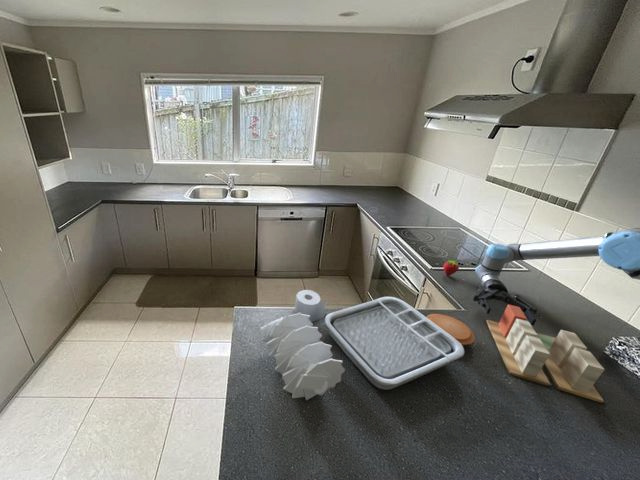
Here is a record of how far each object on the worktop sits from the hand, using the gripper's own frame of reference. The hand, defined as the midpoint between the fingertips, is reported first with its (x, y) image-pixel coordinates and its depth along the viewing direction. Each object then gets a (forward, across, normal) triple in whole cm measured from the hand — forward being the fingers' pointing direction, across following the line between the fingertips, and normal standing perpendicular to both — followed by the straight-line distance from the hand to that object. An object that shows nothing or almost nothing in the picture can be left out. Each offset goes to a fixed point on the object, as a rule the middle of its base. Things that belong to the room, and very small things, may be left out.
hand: (510, 316), depth 105 cm
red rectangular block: (+2, 0, -6) cm, 6 cm away
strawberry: (-35, +14, -7) cm, 39 cm away
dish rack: (+30, +42, -7) cm, 52 cm away
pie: (+13, +21, -7) cm, 26 cm away
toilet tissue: (+25, +70, -7) cm, 75 cm away
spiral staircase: (+53, +67, -7) cm, 86 cm away
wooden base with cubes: (+10, 0, -7) cm, 12 cm away
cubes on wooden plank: (+10, -12, -7) cm, 17 cm away
